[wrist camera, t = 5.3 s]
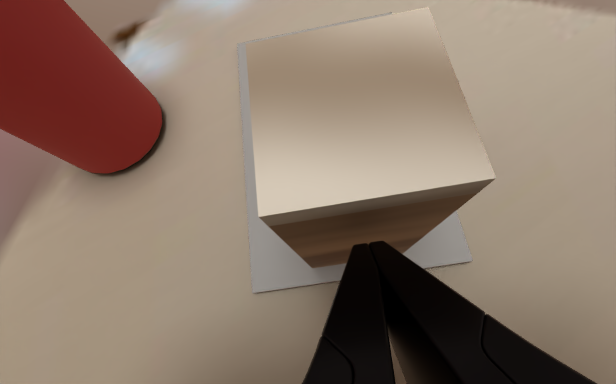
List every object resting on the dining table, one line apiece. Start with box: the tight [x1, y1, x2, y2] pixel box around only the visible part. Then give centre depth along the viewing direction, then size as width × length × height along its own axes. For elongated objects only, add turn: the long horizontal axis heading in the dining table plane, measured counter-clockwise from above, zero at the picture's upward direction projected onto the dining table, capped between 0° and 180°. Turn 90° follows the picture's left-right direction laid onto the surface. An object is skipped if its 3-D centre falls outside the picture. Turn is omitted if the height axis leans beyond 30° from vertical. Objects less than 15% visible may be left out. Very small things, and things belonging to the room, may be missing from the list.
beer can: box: [0, 0, 162, 173], centre depth 14 cm, size 7×7×12 cm
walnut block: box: [246, 7, 496, 268], centre depth 11 cm, size 4×4×10 cm
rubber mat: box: [237, 12, 473, 293], centre depth 18 cm, size 17×11×1 cm, turn 7°
